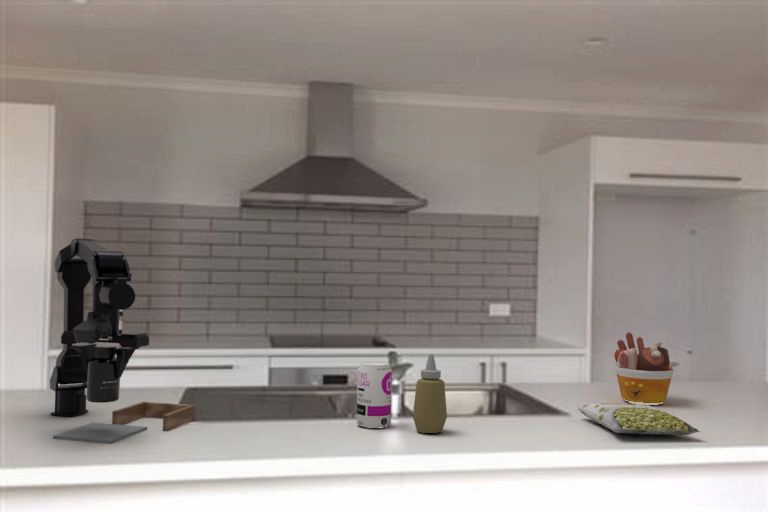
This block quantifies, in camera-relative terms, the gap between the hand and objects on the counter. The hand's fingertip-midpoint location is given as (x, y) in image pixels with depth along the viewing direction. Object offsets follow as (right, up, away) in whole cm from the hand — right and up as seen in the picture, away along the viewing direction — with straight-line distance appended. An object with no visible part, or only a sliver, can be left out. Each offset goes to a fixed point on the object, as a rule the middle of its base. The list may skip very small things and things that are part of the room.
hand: (103, 377), depth 163 cm
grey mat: (0, -12, 0) cm, 12 cm away
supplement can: (+60, -14, +14) cm, 63 cm away
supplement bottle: (0, -5, 0) cm, 5 cm away
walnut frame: (+7, -13, +11) cm, 18 cm away
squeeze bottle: (+73, -14, +9) cm, 75 cm away
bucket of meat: (+139, -17, +55) cm, 150 cm away
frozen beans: (+123, -16, +16) cm, 125 cm away
